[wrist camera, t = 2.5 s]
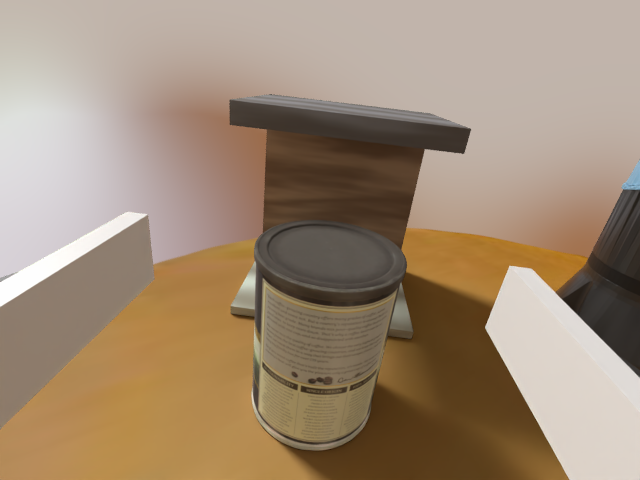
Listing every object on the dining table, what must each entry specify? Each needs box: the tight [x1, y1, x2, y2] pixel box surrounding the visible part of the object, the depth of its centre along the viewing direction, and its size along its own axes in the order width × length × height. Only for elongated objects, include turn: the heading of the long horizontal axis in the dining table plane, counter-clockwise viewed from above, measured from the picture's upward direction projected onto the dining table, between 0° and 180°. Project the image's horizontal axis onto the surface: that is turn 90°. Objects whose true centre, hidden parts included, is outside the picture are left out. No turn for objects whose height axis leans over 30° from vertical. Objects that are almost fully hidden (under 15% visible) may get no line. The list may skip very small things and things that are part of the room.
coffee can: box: [252, 220, 407, 451], centre depth 26 cm, size 10×10×14 cm
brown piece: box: [230, 94, 471, 339], centre depth 40 cm, size 16×20×22 cm
